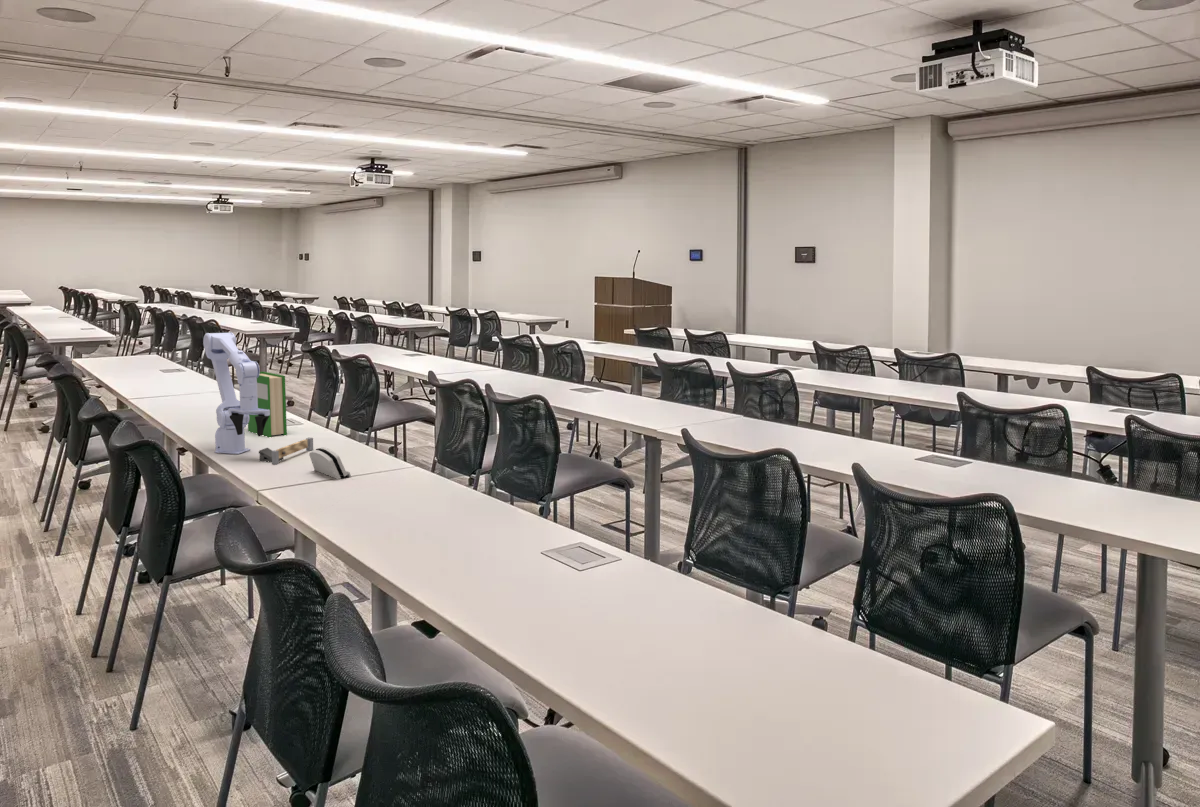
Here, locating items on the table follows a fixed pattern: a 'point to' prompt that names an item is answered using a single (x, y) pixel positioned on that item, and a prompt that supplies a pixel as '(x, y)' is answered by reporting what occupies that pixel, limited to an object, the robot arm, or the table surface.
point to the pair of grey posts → (276, 454)
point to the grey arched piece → (328, 463)
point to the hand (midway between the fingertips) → (250, 435)
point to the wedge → (266, 455)
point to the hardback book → (271, 404)
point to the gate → (292, 448)
